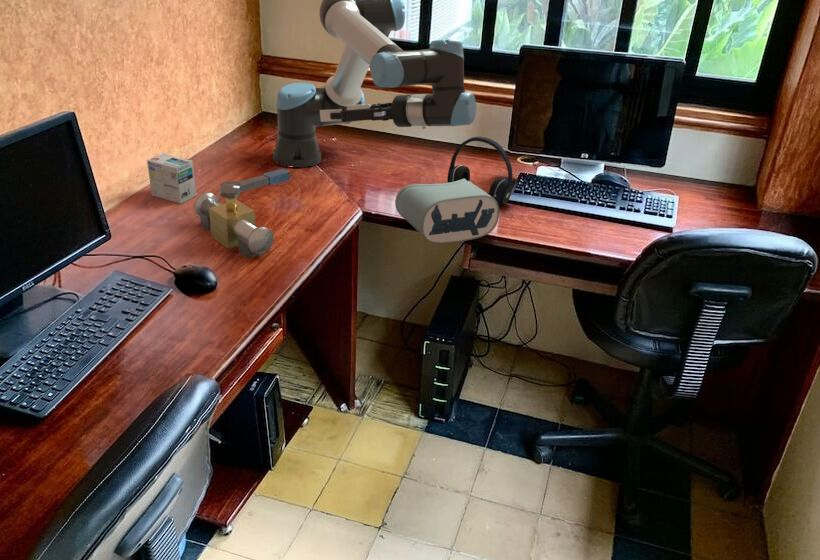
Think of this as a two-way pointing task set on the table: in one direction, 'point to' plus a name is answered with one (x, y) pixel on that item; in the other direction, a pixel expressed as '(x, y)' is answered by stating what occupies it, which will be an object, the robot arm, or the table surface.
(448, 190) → the grey rounded block
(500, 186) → the headphones
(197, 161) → the table surface
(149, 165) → the light bulb box
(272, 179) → the lever
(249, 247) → the valve body
